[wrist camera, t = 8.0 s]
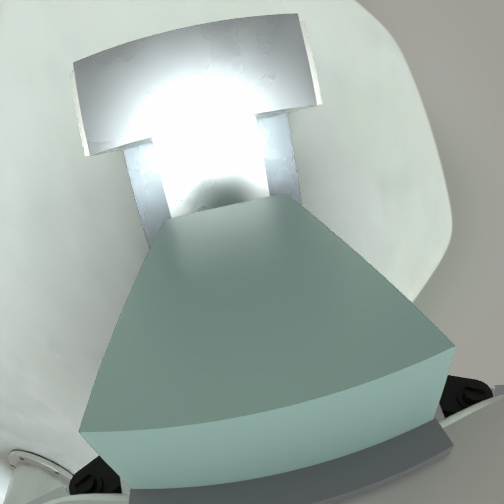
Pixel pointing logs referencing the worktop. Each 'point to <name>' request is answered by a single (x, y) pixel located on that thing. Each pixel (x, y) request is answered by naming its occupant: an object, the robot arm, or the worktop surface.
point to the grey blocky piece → (200, 112)
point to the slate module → (265, 367)
